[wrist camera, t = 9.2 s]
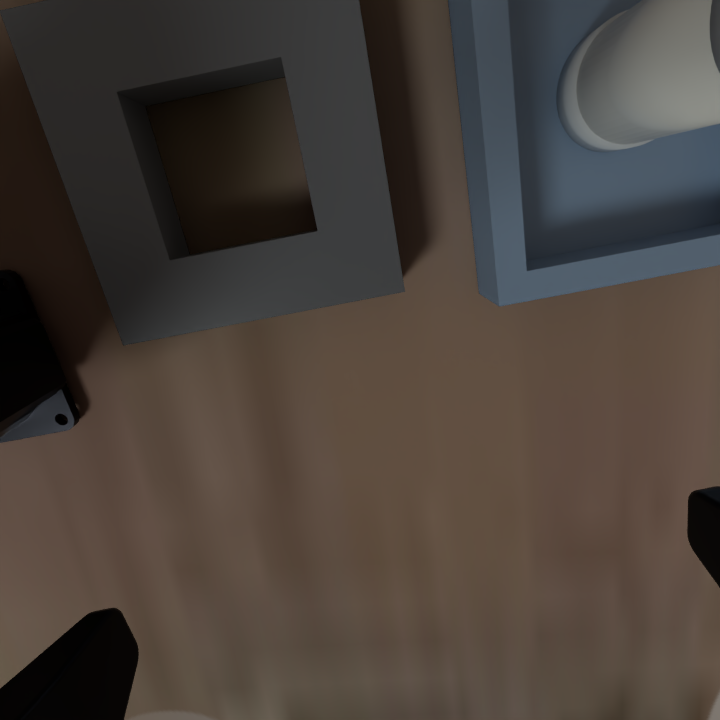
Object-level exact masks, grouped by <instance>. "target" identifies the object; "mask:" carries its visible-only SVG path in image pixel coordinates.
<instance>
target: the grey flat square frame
mask: <svg viewBox="0 0 720 720" xmlns="http://www.w3.org/2000/svg"><path fill="white" fill-rule="evenodd" d="M0 13H1V16H2V19H3V22H4V24H5V27H6V30H7V32H8V35H9V38H10V41H11V43H12V46H13V49H14V51H15V54H16V57H17V59H18V62H19V65H20V68H21V70H22V73H23V76H24V78H25V81H26V84H27V86H28V89H29V92H30V95H31V97H32V100H33V103H34V105H35V108H36V111H37V114H38V116H39V119H40V122H41V124H42V127H43V130H44V132H45V135H46V138H47V141H48V143H49V146H50V149H51V151H52V154H53V157H54V160H55V162H56V165H57V168H58V170H59V173H60V176H61V178H62V181H63V184H64V187H65V189H66V192H67V195H68V197H69V200H70V203H71V206H72V208H73V211H74V214H75V216H76V219H77V222H78V224H79V227H80V230H81V233H82V235H83V238H84V241H85V243H86V246H87V249H88V251H89V254H90V257H91V260H92V262H93V265H94V268H95V270H96V273H97V276H98V279H99V281H100V284H101V287H102V289H103V292H104V295H105V297H106V300H107V303H108V306H109V308H110V311H111V314H112V316H113V319H114V322H115V325H116V327H117V330H118V333H119V335H120V338H121V341H122V343H123V345H128V344H134V343H139V342H144V341H149V340H155V339H160V338H165V337H170V336H175V335H181V334H186V333H191V332H196V331H202V330H207V329H212V328H217V327H223V326H228V325H233V324H238V323H243V322H249V321H254V320H259V319H264V318H270V317H275V316H280V315H285V314H291V313H296V312H301V311H306V310H311V309H317V308H322V307H327V306H332V305H338V304H343V303H348V302H353V301H359V300H364V299H369V298H374V297H379V296H385V295H390V294H395V293H400V292H405V289H404V283H403V276H402V270H401V264H400V257H399V251H398V244H397V238H396V232H395V225H394V219H393V213H392V206H391V200H390V194H389V187H388V181H387V175H386V168H385V162H384V156H383V149H382V143H381V137H380V130H379V124H378V118H377V111H376V105H375V99H374V92H373V86H372V79H371V73H370V67H369V60H368V54H367V48H366V41H365V35H364V29H363V22H362V16H361V10H360V3H359V0H46V1H41V2H37V3H32V4H28V5H23V6H19V7H14V8H9V9H5V10H0ZM282 77H285V78H286V83H287V87H288V92H289V97H290V102H291V106H292V111H293V116H294V121H295V125H296V130H297V135H298V140H299V144H300V149H301V154H302V159H303V163H304V168H305V173H306V178H307V183H308V187H309V192H310V197H311V202H312V206H313V211H314V216H315V221H316V225H317V230H312V231H307V232H302V233H297V234H292V235H287V236H282V237H277V238H272V239H267V240H262V241H257V242H251V243H246V244H241V245H236V246H231V247H226V248H221V249H216V250H211V251H206V252H201V253H196V254H191V255H190V254H189V250H188V247H187V244H186V240H185V237H184V234H183V230H182V227H181V224H180V221H179V217H178V214H177V211H176V207H175V204H174V201H173V197H172V194H171V191H170V187H169V184H168V181H167V177H166V174H165V171H164V167H163V164H162V161H161V157H160V154H159V151H158V147H157V144H156V141H155V137H154V134H153V131H152V128H151V124H150V121H149V118H148V114H147V111H146V108H145V106H149V105H153V104H158V103H163V102H168V101H172V100H177V99H182V98H187V97H191V96H196V95H201V94H206V93H210V92H215V91H220V90H225V89H229V88H234V87H239V86H244V85H248V84H253V83H258V82H263V81H267V80H272V79H277V78H282Z"/></svg>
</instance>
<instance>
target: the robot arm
mask: <svg viewBox="0 0 720 720" xmlns="http://www.w3.org/2000/svg"><path fill="white" fill-rule="evenodd" d="M4 279H6V280H7V281H8V283H9V285H10V288H9V289H7V288H6V287H5V286H4V284H3V280H4ZM61 414H63V415H65V416H66V417H67V418H68V421H66V420H64V419H63V418H62V417H61ZM79 419H80V415H79V412H78V409H77V407H76V405H75V402H74V400H73V398H72V395H71V393H70V391H69V388H68V386H67V383H66V378H65V376H64V374H63V371H62V369H61V367H60V364H59V362H58V359H57V357H56V355H55V352H54V350H53V348H52V345H51V343H50V341H49V338H48V336H47V333H46V331H45V329H44V326H43V324H42V323H41V322H40V320H39V317H38V315H37V313H36V310H35V308H34V305H33V303H32V301H31V298H30V296H29V294H28V291H27V289H26V286H25V284H24V282H23V280H22V278H21V277H20V275H18V274H17V273H16V272H14V271H11V270H1V271H0V443H2V442H7V441H12V440H18V439H23V438H29V437H34V436H39V435H45V434H50V433H56V432H61V431H66V430H69V429H71V428H72V427H73V426H75V425H76V424H77V423H78V422H79ZM687 534H688V540H689V543H690V545H691V547H692V549H693V551H694V552H695V554H696V555H697V557H698V558H699V560H700V561H701V562H702V564H703V565H704V566H705V568H706V569H707V571H708V572H709V573H710V575H711V576H712V577H713V579H714V580H715V582H716V583H717V584H718V586H719V587H720V486H717V487H710V488H705V489H700V490H696V491H693V492H692V493H691V494H690V496H689V498H688V528H687ZM138 656H139V652H138V645H137V642H136V640H135V638H134V636H133V634H132V632H131V630H130V628H129V626H128V624H127V622H126V620H125V618H124V616H123V614H122V612H121V611H120V610H118V609H117V608H108V609H103V610H98V611H94V612H91V613H89V614H87V615H86V616H85V617H83V618H82V619H81V620H80V621H79V622H78V623H76V624H75V625H74V626H73V627H72V628H71V629H69V630H68V631H67V632H66V633H65V634H64V635H62V636H61V637H60V638H59V639H58V640H57V641H55V642H54V643H53V644H52V645H51V646H50V647H48V648H47V649H46V650H45V651H44V652H43V653H41V654H40V655H39V656H38V657H37V658H36V659H34V660H33V661H32V662H31V663H30V664H29V665H27V666H26V667H25V668H24V669H23V670H22V671H20V672H19V673H18V674H17V675H16V676H15V677H13V678H12V679H11V680H10V681H9V682H8V683H6V684H5V685H4V686H3V687H2V688H1V689H0V720H124V717H125V713H126V709H127V704H128V700H129V696H130V692H131V688H132V684H133V680H134V676H135V672H136V668H137V663H138Z"/></svg>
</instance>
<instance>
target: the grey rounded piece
mask: <svg viewBox="0 0 720 720" xmlns="http://www.w3.org/2000/svg"><path fill="white" fill-rule="evenodd" d="M556 104H557V111H558V116H559V119H560V122H561V124H562V126H563V128H564V130H565V132H566V133H567V134H568V136H569V137H570V138H571V139H572V140H573V141H574V142H575V143H577V144H578V145H580V146H581V147H583V148H585V149H588V150H591V151H595V152H614V151H618V150H623V149H627V148H632V147H636V146H640V145H643V144H646V143H648V142H650V141H652V140H654V139H656V138H660V137H665V136H669V135H673V134H677V133H682V132H686V131H690V130H695V129H699V128H703V127H707V126H712V125H716V124H720V0H642V1H640V2H639V3H637V4H636V5H635V6H633V7H632V8H630V9H629V10H626V11H623V12H621V13H619V14H617V15H615V16H614V17H612V18H610V19H609V20H608V21H606V22H605V23H604V24H602V25H601V26H600V27H598V28H597V29H595V30H594V31H593V32H591V33H590V34H589V35H587V36H586V37H585V38H584V39H583V40H582V41H581V42H580V43H579V44H578V45H577V46H576V47H575V48H574V49H573V51H572V52H571V53H570V55H569V57H568V58H567V60H566V62H565V64H564V66H563V68H562V71H561V74H560V76H559V80H558V85H557V92H556Z"/></svg>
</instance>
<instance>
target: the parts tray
mask: <svg viewBox="0 0 720 720" xmlns="http://www.w3.org/2000/svg"><path fill="white" fill-rule="evenodd" d="M640 1H642V0H448V4H449V14H450V23H451V33H452V42H453V51H454V61H455V70H456V80H457V89H458V99H459V108H460V118H461V127H462V137H463V146H464V156H465V165H466V175H467V184H468V194H469V203H470V213H471V222H472V231H473V241H474V250H475V260H476V269H477V279H478V288H479V294H481V295H482V296H484V297H485V298H487V299H488V300H490V301H492V302H493V303H495V304H496V305H498V306H504V305H510V304H515V303H520V302H526V301H531V300H536V299H542V298H547V297H552V296H557V295H563V294H568V293H573V292H579V291H584V290H589V289H595V288H600V287H605V286H610V285H616V284H621V283H626V282H632V281H637V280H642V279H648V278H653V277H658V276H664V275H669V274H674V273H679V272H685V271H690V270H695V269H701V268H706V267H711V266H717V265H720V124H716V125H712V126H707V127H703V128H699V129H695V130H690V131H686V132H682V133H677V134H673V135H669V136H665V137H660V138H656V139H654V140H652V141H650V142H648V143H646V144H643V145H640V146H636V147H632V148H627V149H623V150H618V151H614V152H595V151H591V150H588V149H585V148H583V147H581V146H580V145H578V144H577V143H575V142H574V141H573V140H572V139H571V138H570V137H569V136H568V134H567V133H566V132H565V130H564V128H563V126H562V124H561V122H560V119H559V116H558V111H557V104H556V92H557V85H558V80H559V76H560V74H561V71H562V68H563V66H564V64H565V62H566V60H567V58H568V57H569V55H570V53H571V52H572V51H573V49H574V48H575V47H576V46H577V45H578V44H579V43H580V42H581V41H582V40H583V39H584V38H585V37H586V36H587V35H589V34H590V33H591V32H593V31H594V30H595V29H597V28H598V27H600V26H601V25H602V24H604V23H605V22H606V21H608V20H609V19H610V18H612V17H614V16H615V15H617V14H619V13H621V12H623V11H626V10H629V9H630V8H632V7H633V6H635V5H636V4H637V3H639V2H640Z"/></svg>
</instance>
